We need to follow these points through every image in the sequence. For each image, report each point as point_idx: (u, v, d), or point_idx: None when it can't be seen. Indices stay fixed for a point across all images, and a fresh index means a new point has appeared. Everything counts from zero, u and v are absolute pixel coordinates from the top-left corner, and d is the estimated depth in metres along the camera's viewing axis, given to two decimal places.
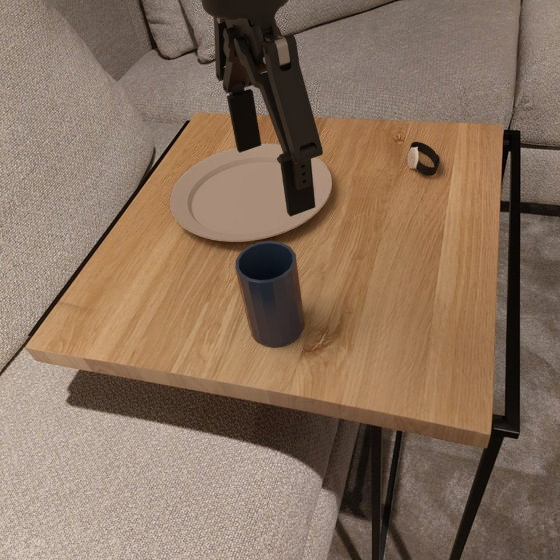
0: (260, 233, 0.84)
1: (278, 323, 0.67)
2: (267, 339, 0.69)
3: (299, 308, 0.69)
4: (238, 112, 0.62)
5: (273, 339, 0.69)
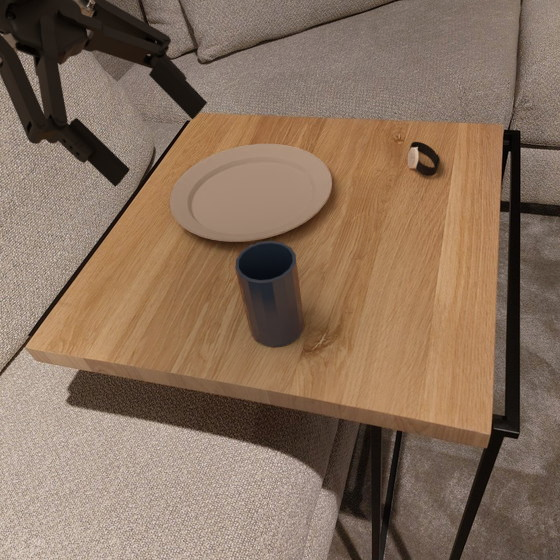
0: (260, 233, 0.84)
1: (278, 323, 0.67)
2: (267, 339, 0.69)
3: (299, 308, 0.69)
4: (164, 83, 0.63)
5: (273, 339, 0.69)
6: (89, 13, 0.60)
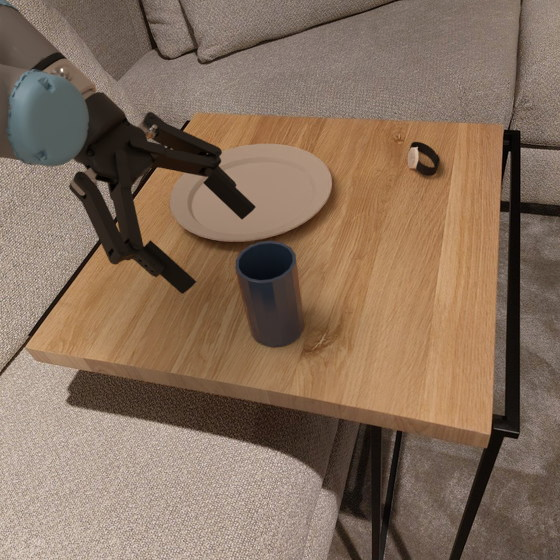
0: (260, 233, 0.84)
1: (278, 323, 0.67)
2: (267, 339, 0.69)
3: (299, 308, 0.69)
4: (216, 190, 0.71)
5: (273, 339, 0.69)
6: (152, 135, 0.68)
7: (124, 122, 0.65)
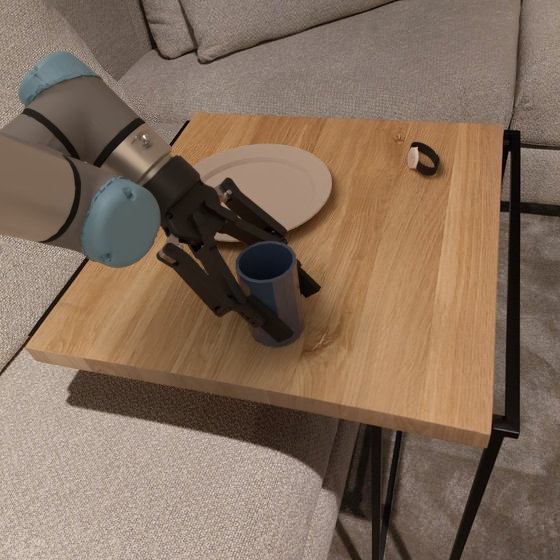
0: None
1: None
2: (267, 339, 0.69)
3: (299, 308, 0.69)
4: None
5: (273, 339, 0.69)
6: (224, 199, 0.68)
7: (198, 182, 0.66)
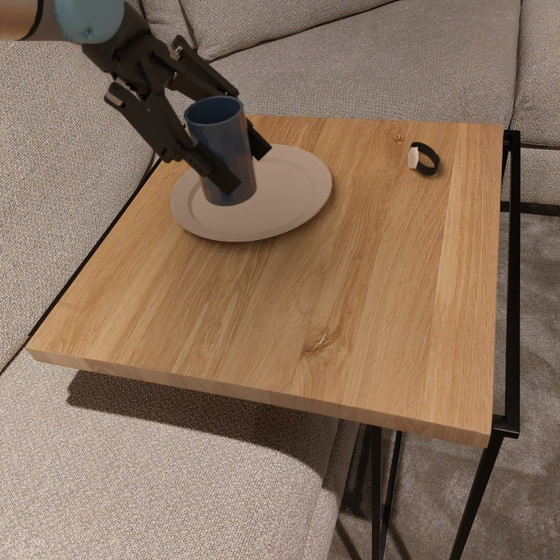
0: (260, 233, 0.84)
1: None
2: (218, 197, 0.70)
3: (249, 164, 0.69)
4: None
5: (224, 196, 0.70)
6: (175, 56, 0.69)
7: (148, 34, 0.67)
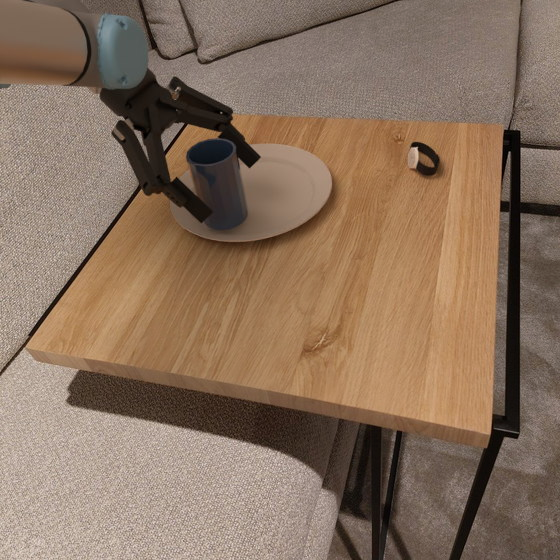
0: (260, 233, 0.84)
1: (223, 206, 0.81)
2: (215, 222, 0.84)
3: (241, 195, 0.83)
4: None
5: (220, 222, 0.83)
6: (176, 96, 0.82)
7: (155, 83, 0.80)
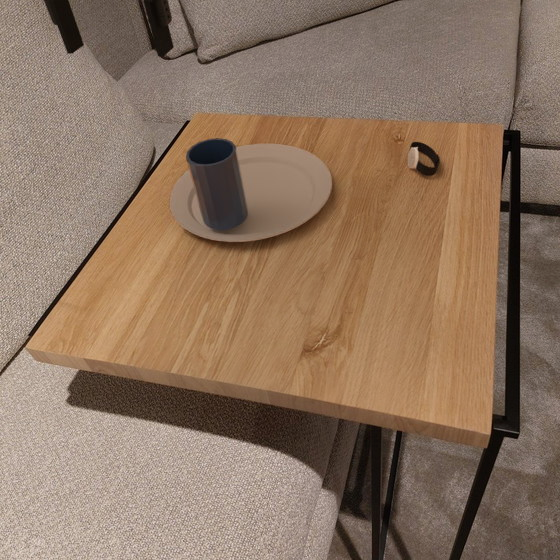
0: (260, 233, 0.84)
1: (223, 206, 0.81)
2: (215, 222, 0.84)
3: (241, 195, 0.83)
4: None
5: (220, 222, 0.83)
6: None
7: None
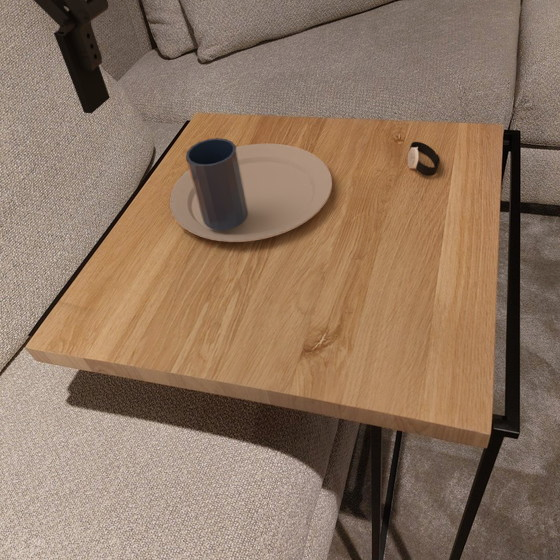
0: (260, 233, 0.84)
1: (223, 206, 0.81)
2: (215, 222, 0.84)
3: (241, 195, 0.83)
4: None
5: (220, 222, 0.83)
6: None
7: None
